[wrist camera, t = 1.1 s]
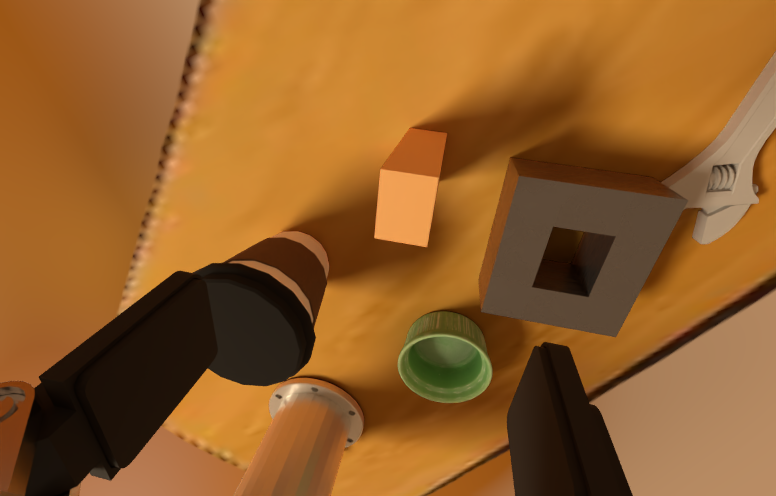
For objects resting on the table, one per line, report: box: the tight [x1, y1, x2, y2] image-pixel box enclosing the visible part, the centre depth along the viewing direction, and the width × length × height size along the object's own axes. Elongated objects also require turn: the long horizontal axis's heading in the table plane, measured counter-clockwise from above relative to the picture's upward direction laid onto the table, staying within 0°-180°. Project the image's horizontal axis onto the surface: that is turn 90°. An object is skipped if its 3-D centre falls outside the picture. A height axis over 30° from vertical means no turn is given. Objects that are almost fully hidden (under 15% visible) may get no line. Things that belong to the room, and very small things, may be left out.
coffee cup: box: [193, 231, 330, 386], centre depth 32 cm, size 11×11×12 cm
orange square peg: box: [374, 128, 447, 247], centre depth 25 cm, size 3×4×12 cm
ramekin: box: [398, 311, 493, 403], centre depth 37 cm, size 9×9×4 cm
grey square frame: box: [479, 157, 688, 337], centre depth 29 cm, size 12×11×5 cm
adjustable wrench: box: [661, 51, 776, 244], centre depth 23 cm, size 25×6×2 cm, turn 162°
